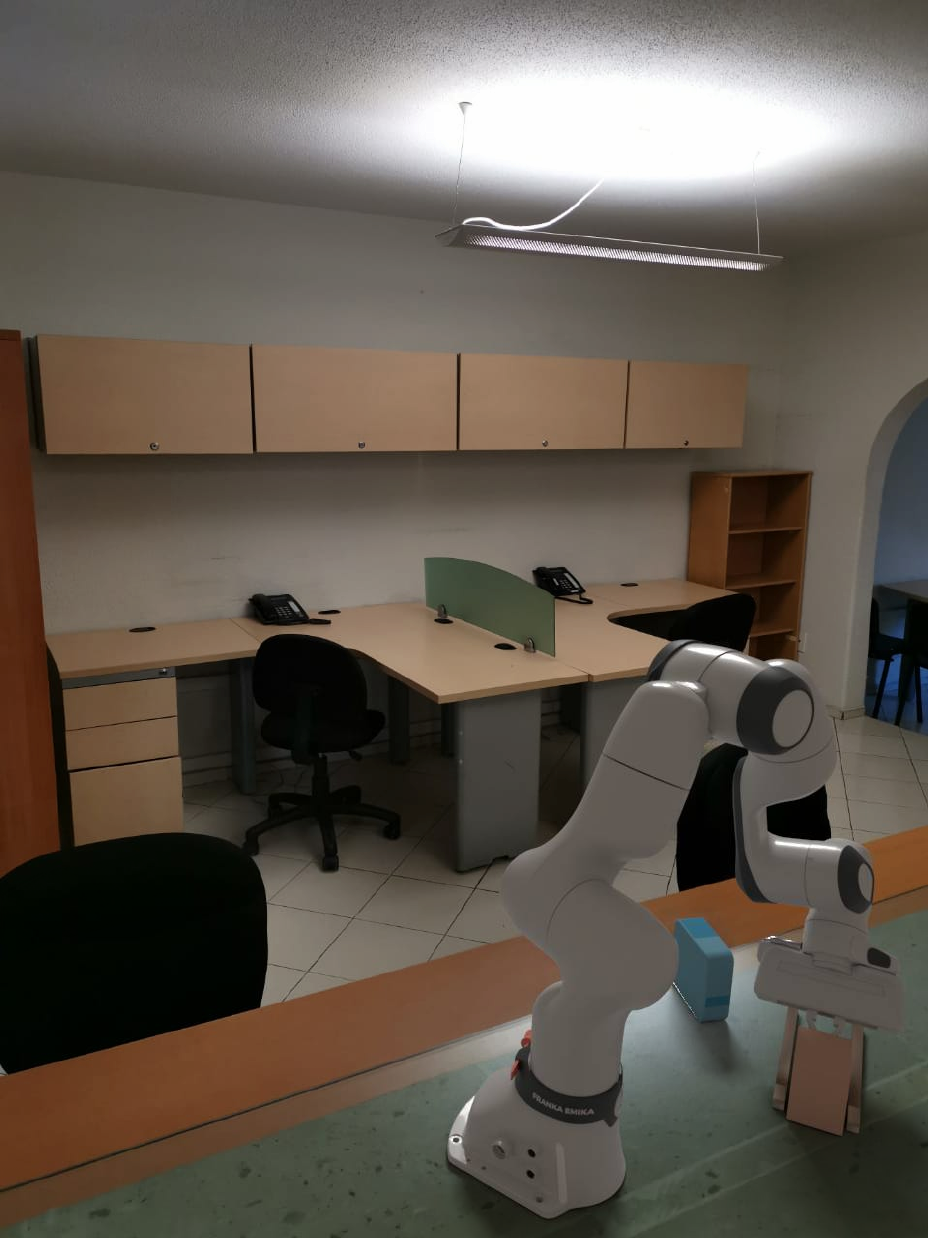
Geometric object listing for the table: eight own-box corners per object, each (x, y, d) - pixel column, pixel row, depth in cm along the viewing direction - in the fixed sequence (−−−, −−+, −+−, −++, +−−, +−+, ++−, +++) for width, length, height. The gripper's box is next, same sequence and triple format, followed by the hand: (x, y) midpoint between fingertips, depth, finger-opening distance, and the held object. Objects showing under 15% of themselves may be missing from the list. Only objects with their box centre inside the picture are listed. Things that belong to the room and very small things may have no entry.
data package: (728, 1023, 145) (735, 955, 142) (701, 1027, 144) (708, 958, 141) (694, 977, 156) (700, 913, 153) (668, 980, 155) (674, 915, 152)
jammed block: (786, 1119, 125) (793, 1061, 123) (791, 1080, 133) (798, 1025, 130) (841, 1136, 123) (850, 1077, 121) (844, 1096, 130) (852, 1040, 128)
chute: (772, 1107, 128) (773, 1097, 127) (787, 1010, 148) (788, 1002, 148) (858, 1133, 124) (859, 1124, 123) (862, 1030, 144) (863, 1021, 144)
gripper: (760, 927, 138) (744, 1023, 132) (911, 963, 130) (903, 1067, 124) (760, 938, 143) (745, 1031, 137) (906, 974, 135) (898, 1074, 129)
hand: (821, 1049), depth 130 cm, fingers closed, pressing on jammed block
